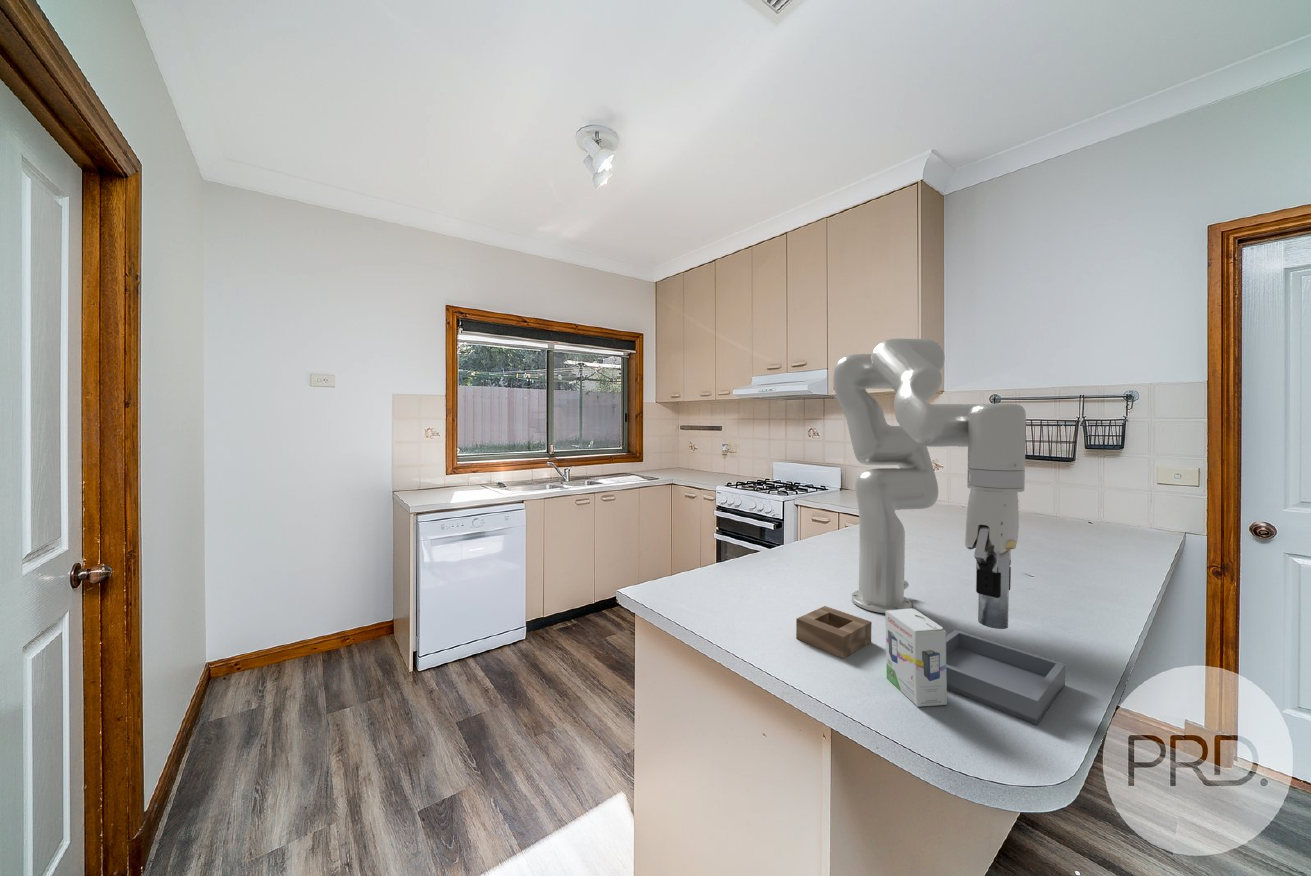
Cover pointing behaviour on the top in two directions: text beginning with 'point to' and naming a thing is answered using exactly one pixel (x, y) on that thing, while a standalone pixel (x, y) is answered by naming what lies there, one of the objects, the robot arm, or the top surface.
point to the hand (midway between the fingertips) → (993, 590)
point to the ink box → (916, 656)
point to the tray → (1002, 676)
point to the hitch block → (834, 631)
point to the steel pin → (996, 609)
